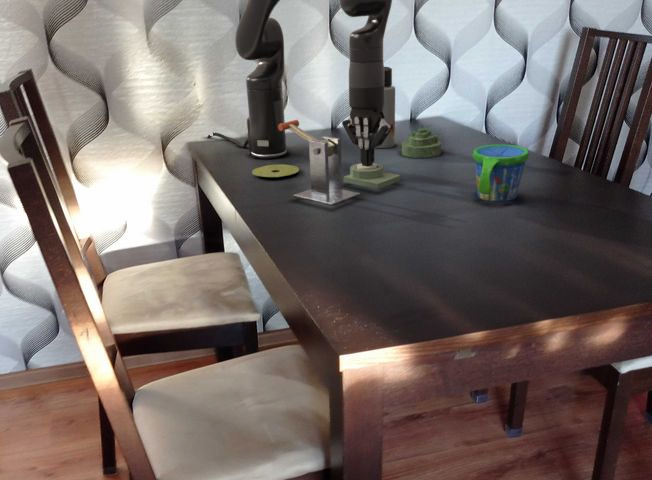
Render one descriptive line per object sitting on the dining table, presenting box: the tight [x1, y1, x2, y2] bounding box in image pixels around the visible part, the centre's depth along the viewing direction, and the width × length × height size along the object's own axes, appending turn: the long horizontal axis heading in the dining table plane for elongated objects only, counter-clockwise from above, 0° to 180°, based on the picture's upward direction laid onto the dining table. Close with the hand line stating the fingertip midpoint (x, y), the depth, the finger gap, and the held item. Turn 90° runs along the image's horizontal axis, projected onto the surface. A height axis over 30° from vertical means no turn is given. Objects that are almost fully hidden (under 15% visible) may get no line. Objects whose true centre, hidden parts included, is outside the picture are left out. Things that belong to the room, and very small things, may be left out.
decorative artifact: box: [401, 124, 442, 159], centre depth 179 cm, size 10×7×10 cm
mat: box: [251, 163, 300, 178], centre depth 167 cm, size 11×11×2 cm
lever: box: [278, 119, 335, 157], centre depth 147 cm, size 13×5×2 cm, turn 45°
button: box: [357, 162, 377, 170], centre depth 157 cm, size 4×4×2 cm
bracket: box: [293, 135, 361, 207], centre depth 147 cm, size 11×9×13 cm
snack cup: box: [472, 144, 530, 202], centre depth 142 cm, size 16×10×10 cm
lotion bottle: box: [375, 66, 396, 149], centre depth 185 cm, size 6×6×20 cm
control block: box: [343, 162, 402, 190], centre depth 157 cm, size 10×8×4 cm
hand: (367, 165), depth 157 cm, fingers closed
